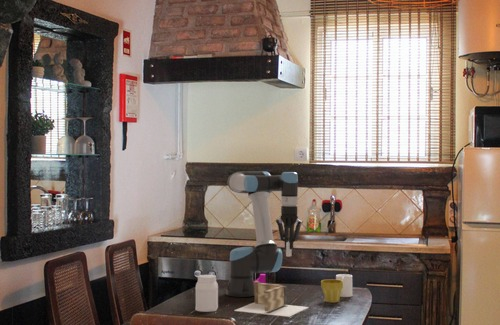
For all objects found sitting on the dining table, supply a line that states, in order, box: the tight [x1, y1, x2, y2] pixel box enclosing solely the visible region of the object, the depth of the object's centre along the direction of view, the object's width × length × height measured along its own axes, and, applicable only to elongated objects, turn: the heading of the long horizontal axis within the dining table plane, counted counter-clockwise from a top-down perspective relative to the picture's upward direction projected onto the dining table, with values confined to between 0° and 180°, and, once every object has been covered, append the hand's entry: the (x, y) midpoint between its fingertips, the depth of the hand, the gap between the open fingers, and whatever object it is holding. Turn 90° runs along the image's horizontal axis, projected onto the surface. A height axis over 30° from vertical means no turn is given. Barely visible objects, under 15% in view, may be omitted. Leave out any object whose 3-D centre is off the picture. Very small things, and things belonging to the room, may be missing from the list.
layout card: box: [234, 301, 310, 318], centre depth 321 cm, size 27×22×1 cm
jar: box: [194, 274, 219, 313], centre depth 321 cm, size 12×10×15 cm
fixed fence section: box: [254, 280, 283, 304], centre depth 330 cm, size 14×2×10 cm, turn 62°
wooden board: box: [264, 285, 287, 311], centre depth 319 cm, size 19×2×9 cm, turn 150°
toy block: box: [253, 273, 266, 284], centre depth 376 cm, size 15×6×8 cm, turn 89°
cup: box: [335, 273, 353, 298], centre depth 352 cm, size 8×12×10 cm
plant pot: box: [320, 278, 343, 303], centre depth 339 cm, size 10×10×10 cm
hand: (288, 256), depth 328 cm, fingers closed
